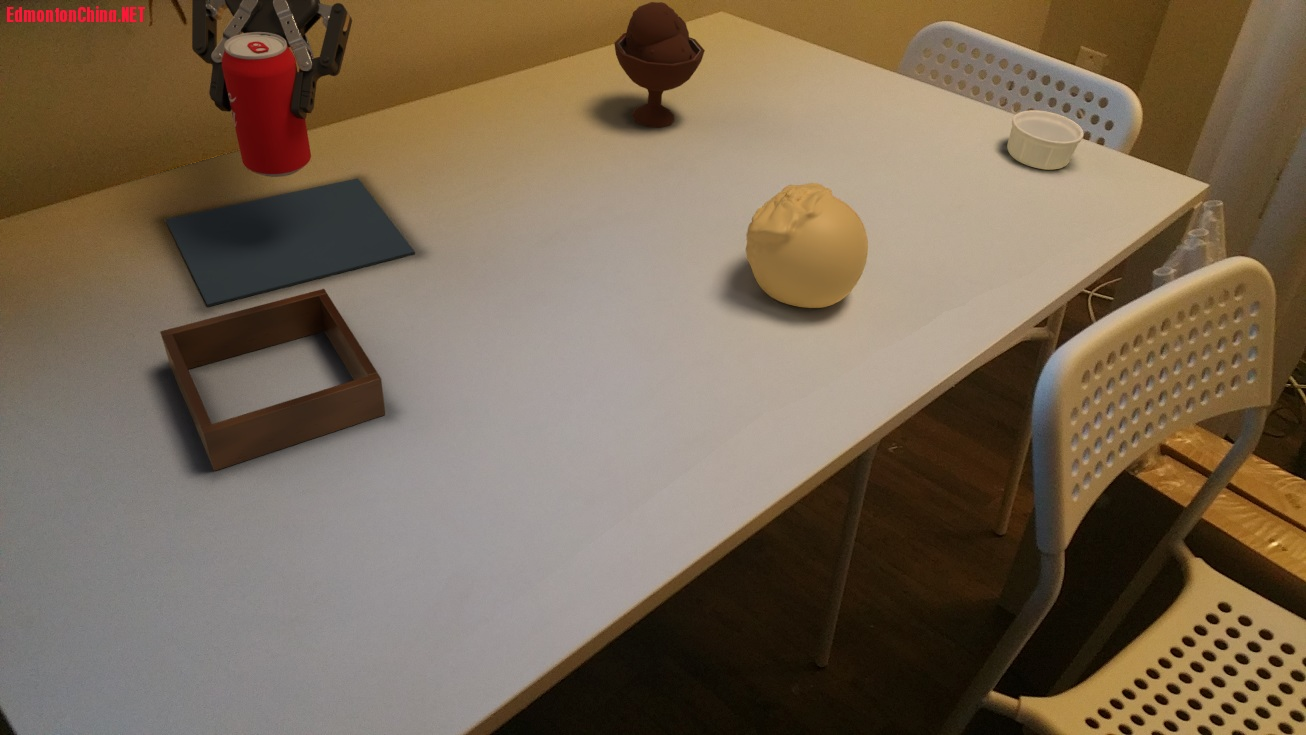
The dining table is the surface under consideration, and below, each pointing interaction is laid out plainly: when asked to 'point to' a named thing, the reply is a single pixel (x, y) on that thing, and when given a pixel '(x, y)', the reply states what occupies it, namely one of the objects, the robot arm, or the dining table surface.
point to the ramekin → (1043, 139)
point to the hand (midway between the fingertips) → (260, 111)
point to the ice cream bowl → (657, 58)
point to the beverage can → (265, 104)
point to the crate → (287, 418)
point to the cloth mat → (285, 240)
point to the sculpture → (807, 247)
